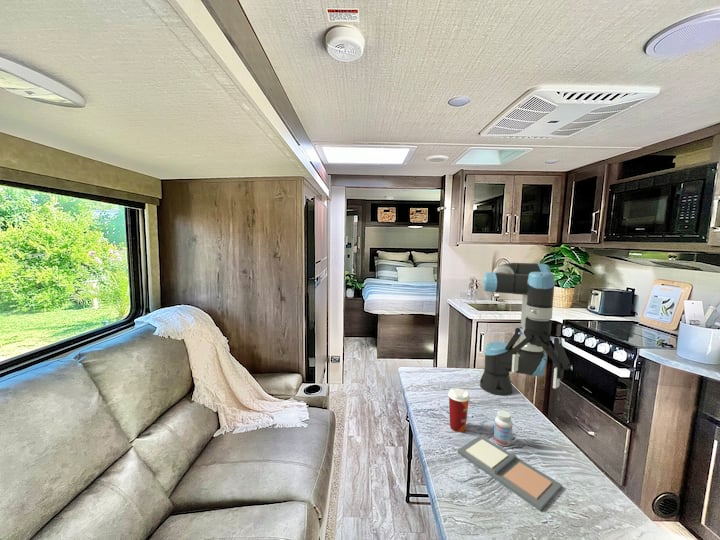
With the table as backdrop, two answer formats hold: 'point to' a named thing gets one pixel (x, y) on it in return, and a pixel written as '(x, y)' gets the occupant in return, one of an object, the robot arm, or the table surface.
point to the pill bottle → (503, 428)
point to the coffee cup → (458, 409)
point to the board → (511, 472)
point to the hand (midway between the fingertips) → (534, 378)
